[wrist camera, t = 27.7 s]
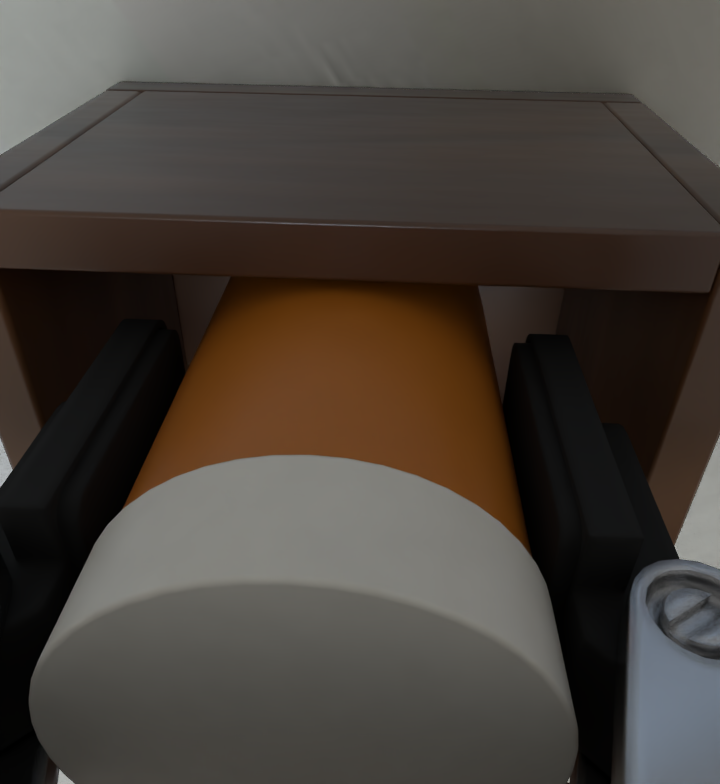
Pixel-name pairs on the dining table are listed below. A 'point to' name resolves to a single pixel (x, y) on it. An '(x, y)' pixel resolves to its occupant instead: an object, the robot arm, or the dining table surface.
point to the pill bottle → (317, 565)
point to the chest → (375, 235)
